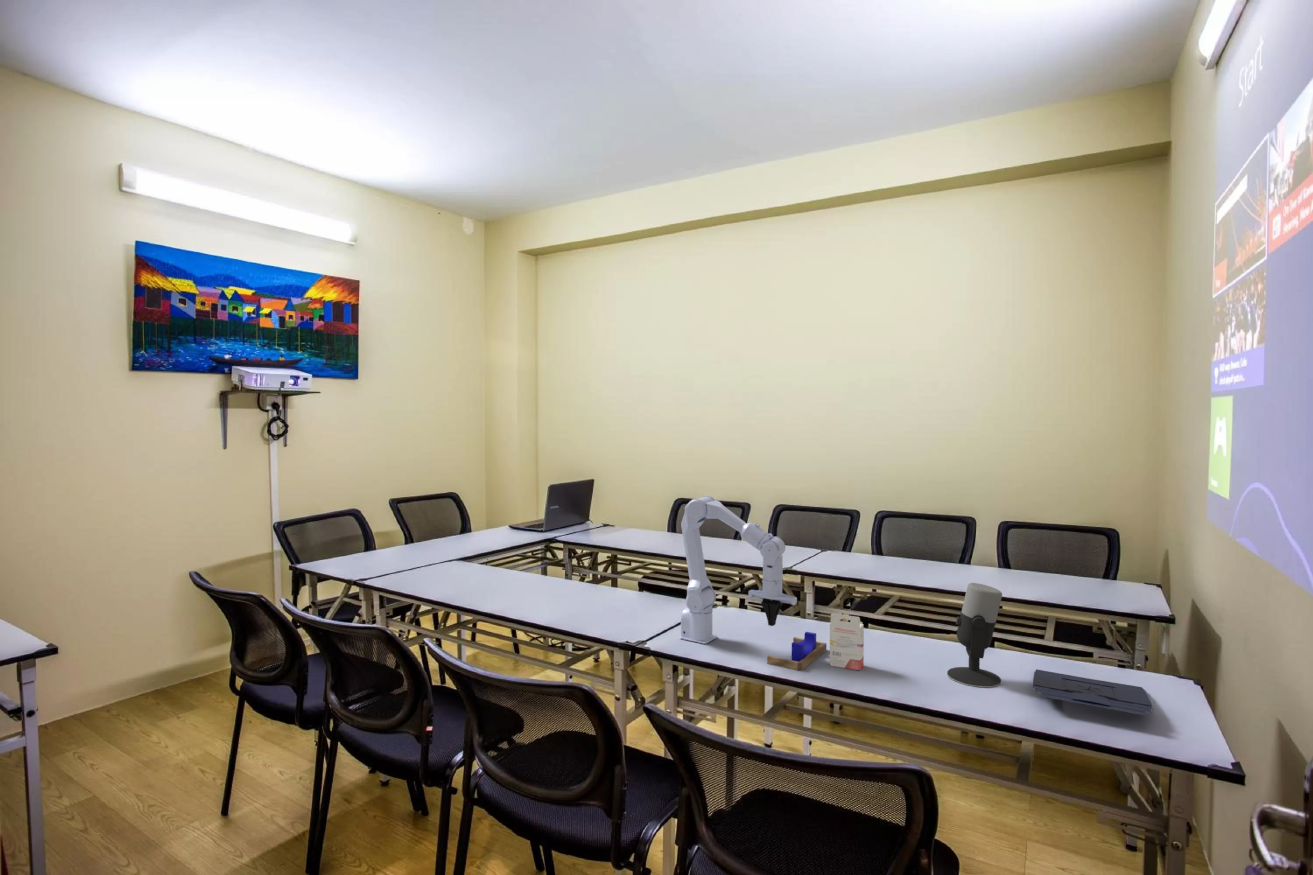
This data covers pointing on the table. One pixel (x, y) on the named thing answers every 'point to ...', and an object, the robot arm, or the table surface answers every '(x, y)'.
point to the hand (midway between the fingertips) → (771, 624)
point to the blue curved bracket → (804, 647)
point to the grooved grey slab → (1092, 692)
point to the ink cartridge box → (846, 642)
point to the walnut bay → (801, 664)
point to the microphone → (977, 634)
